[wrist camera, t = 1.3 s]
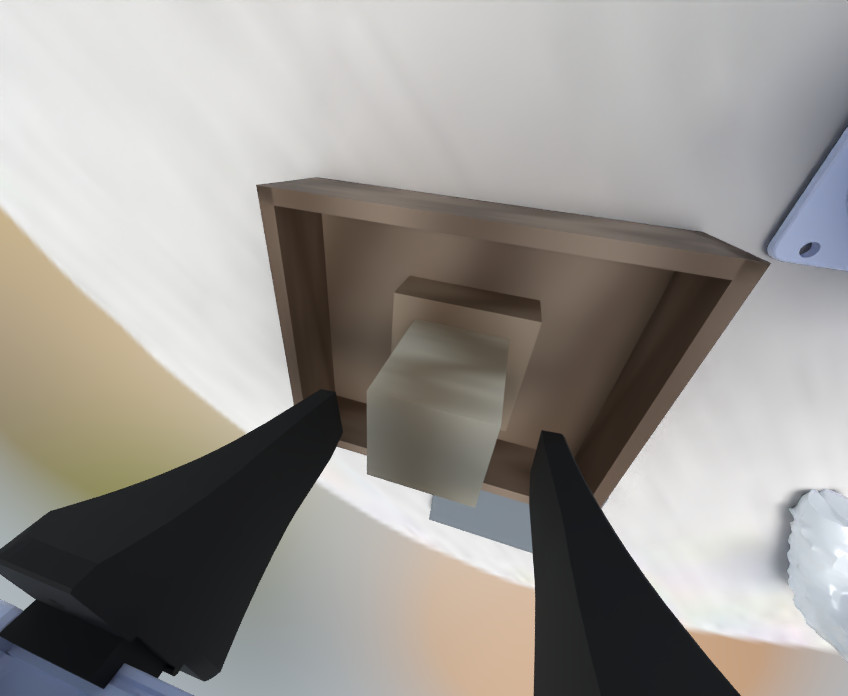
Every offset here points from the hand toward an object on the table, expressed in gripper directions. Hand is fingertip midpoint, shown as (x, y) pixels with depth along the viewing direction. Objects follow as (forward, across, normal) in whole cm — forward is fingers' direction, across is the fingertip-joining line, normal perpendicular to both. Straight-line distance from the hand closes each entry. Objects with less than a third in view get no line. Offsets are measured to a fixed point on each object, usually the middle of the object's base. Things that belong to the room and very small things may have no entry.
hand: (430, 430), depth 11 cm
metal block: (+4, 0, 0) cm, 4 cm away
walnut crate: (+7, 0, 0) cm, 7 cm away
